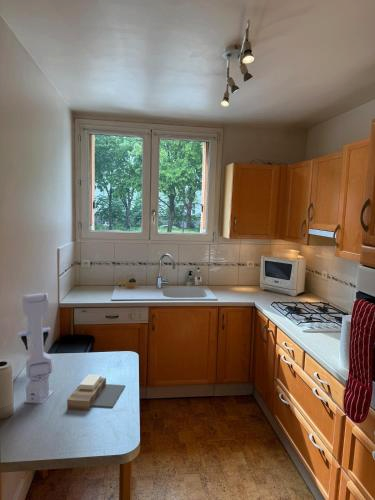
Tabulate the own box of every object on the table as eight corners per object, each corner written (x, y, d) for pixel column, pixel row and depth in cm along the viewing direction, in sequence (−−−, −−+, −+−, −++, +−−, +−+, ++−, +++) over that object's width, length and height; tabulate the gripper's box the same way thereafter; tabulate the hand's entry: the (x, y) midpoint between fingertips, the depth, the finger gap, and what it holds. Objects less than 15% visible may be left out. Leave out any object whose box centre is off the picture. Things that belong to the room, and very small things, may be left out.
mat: (112, 407, 137) (112, 406, 136) (92, 406, 138) (92, 405, 137) (125, 386, 153) (125, 385, 153) (106, 385, 154) (106, 384, 154)
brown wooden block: (89, 410, 135) (88, 401, 134) (67, 409, 136) (66, 399, 135) (106, 386, 153) (105, 378, 153) (86, 385, 154) (86, 376, 154)
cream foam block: (93, 389, 143) (93, 385, 142) (79, 388, 143) (79, 384, 143) (101, 379, 152) (101, 375, 151) (88, 378, 152) (88, 374, 152)
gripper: (48, 316, 175) (49, 340, 178) (16, 321, 168) (18, 346, 171) (50, 322, 169) (51, 347, 173) (18, 328, 162) (19, 353, 165)
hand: (35, 347), depth 171 cm, fingers open, 7 cm apart
